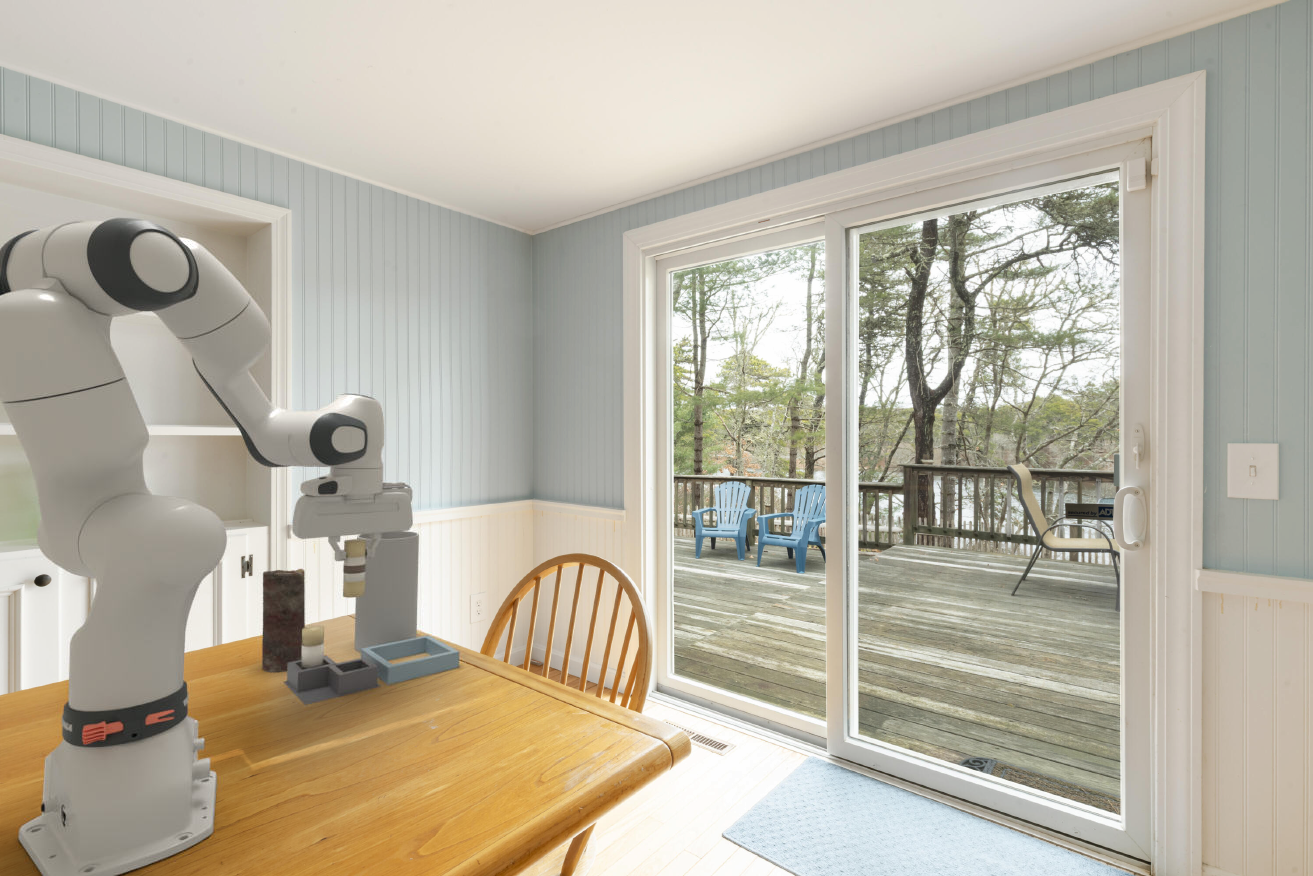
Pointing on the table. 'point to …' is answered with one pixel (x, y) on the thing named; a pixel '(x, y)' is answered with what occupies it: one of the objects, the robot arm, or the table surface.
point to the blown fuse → (354, 568)
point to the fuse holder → (331, 679)
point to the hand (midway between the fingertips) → (354, 559)
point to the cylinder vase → (389, 591)
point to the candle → (282, 618)
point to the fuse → (312, 647)
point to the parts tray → (390, 674)
